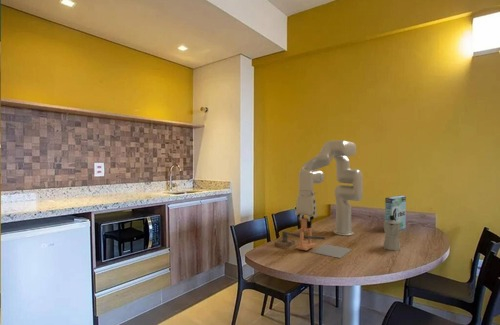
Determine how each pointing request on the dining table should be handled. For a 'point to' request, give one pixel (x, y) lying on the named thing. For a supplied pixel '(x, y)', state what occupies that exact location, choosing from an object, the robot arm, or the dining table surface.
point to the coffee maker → (391, 234)
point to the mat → (332, 251)
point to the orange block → (303, 244)
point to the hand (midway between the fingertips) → (305, 227)
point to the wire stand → (287, 243)
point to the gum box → (396, 209)
